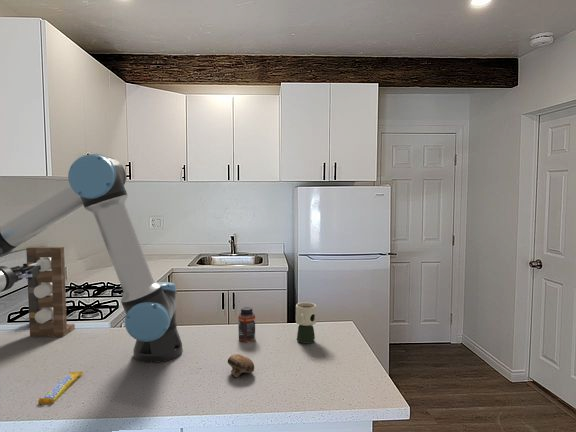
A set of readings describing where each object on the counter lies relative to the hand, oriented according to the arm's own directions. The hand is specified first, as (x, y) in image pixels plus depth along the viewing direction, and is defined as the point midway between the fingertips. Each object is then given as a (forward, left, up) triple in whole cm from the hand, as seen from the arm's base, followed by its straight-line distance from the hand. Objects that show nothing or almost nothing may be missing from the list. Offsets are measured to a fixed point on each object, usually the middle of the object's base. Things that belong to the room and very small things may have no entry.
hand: (41, 265), depth 147 cm
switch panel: (+5, -3, -26) cm, 27 cm away
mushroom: (-61, -49, -26) cm, 82 cm away
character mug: (-49, -79, -26) cm, 96 cm away
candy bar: (-45, -4, -27) cm, 52 cm away
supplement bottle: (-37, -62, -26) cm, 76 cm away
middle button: (+1, -1, -11) cm, 11 cm away
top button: (+3, -2, -2) cm, 4 cm away
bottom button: (+1, -1, -20) cm, 20 cm away
